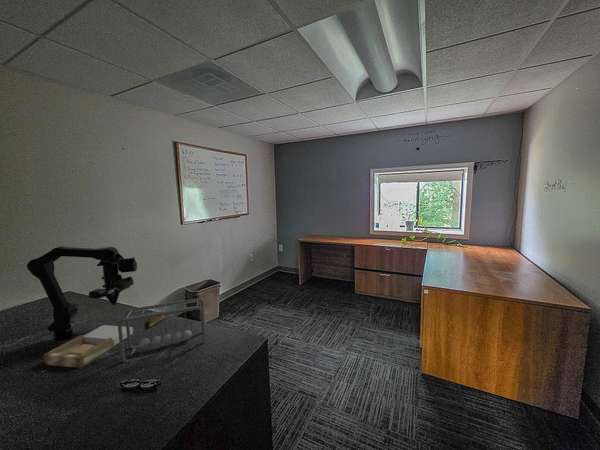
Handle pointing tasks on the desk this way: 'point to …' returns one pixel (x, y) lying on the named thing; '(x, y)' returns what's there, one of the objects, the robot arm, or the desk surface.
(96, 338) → the plate
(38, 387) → the desk surface
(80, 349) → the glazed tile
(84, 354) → the box
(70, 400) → the desk surface
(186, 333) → the newton's cradle
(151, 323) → the shard
